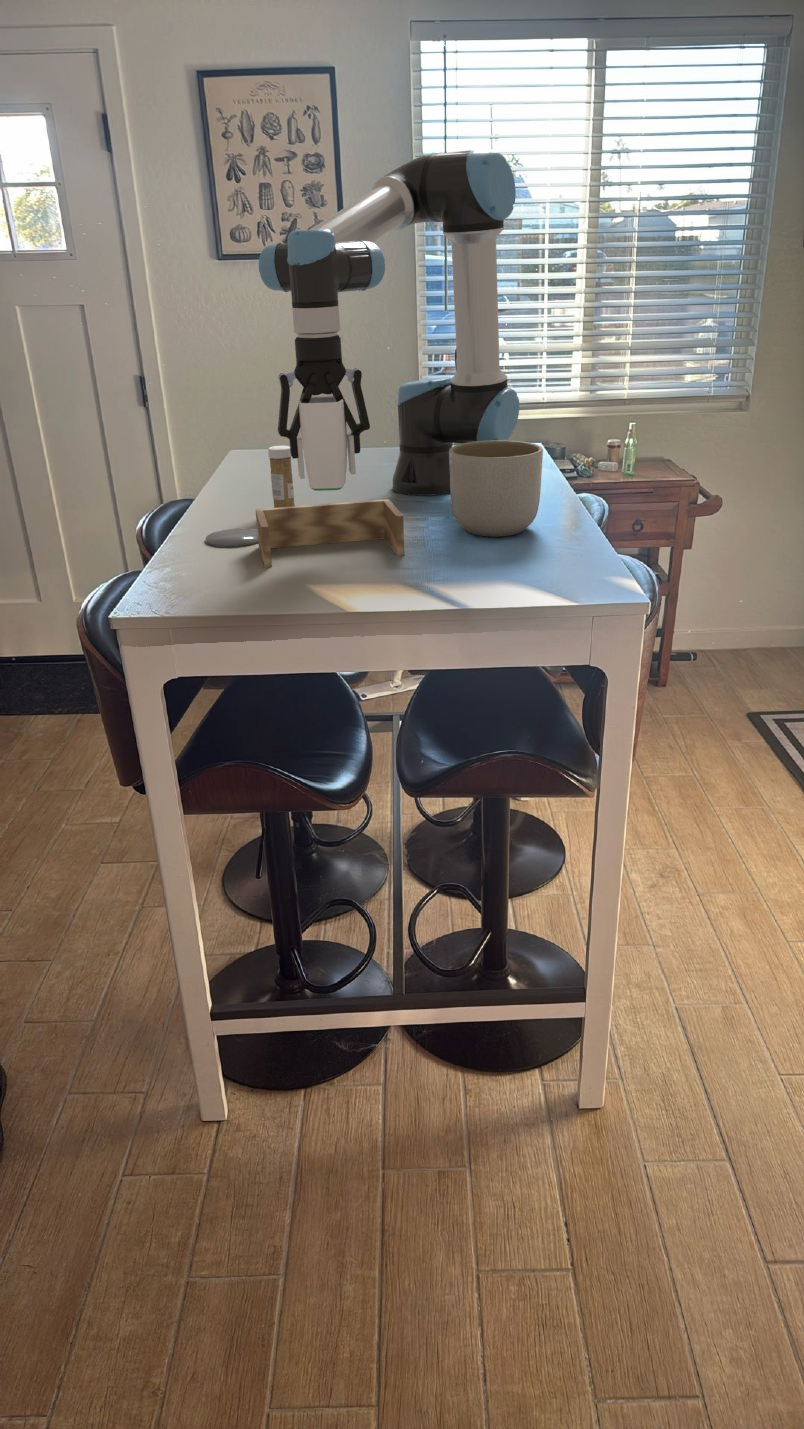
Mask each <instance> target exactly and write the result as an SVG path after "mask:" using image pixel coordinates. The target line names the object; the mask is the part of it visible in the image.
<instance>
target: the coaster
mask: <svg viewBox="0 0 804 1429" xmlns="http://www.w3.org/2000/svg"><path fill="white" fill-rule="evenodd" d="M205 542H206V544H207V545H209V546H210V547H211V546H212V547H216V548H239V547H240V548H242V547H248V546H253V545H256V544H259V543H258V532H257V529H255V528H230V529H224V530H223V529H222V530H218V531H214V532H212V533H209V534H207V535H206V537H205Z"/></svg>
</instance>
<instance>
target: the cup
mask: <svg viewBox="0 0 804 1429" xmlns="http://www.w3.org/2000/svg"><path fill="white" fill-rule="evenodd" d="M343 398H344V400H345V401H346V398H345V397H344V396H343ZM299 401H300V400H299ZM299 401H298V404H299V413H300V425H301V427H300V434H301V439H302V447H303V459H304V463H305V464H304V465H305V468H306V475H307V479H308V484H309V487H310V489H311V490H312V491H316V492H317V491H319V492H320V491H321V492H322V491H339V490H341V489H343V487H344V486H345V484H346V481H347V467H348V465H347V463H348V447H347V430H348V429H347V422H346V419H345V416H344V403H343V399H341V400H340V401H338V402H336V400H335V398H334V396H333V395H331V396H330V395H327V396H326V395H324V396H312V397H311V400H310V401H309V403H301V401H300V402H299Z"/></svg>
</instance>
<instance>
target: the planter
mask: <svg viewBox="0 0 804 1429" xmlns="http://www.w3.org/2000/svg"><path fill="white" fill-rule="evenodd" d="M543 449H544V448H543V447H542V446H541V445H539V444H536V443H533V442H527V441H519V440H507V441H505V440H493V441H477V442H469V443H463V444H460V443H458V444H456V445H454V446H453V445H452V447H451V448H450V449H449V470H450V493H449V494H450V504H451V511H452V514H453V517H454V519H455V521H456V522H457V524H458V525H459V526H460V527H461V528H462V529H464V530H465V531H466V532H468V533H469V534H472V535H476V536H480V537H488V538H490V537H491V538H498V537H499V538H501V537H508V536H514V535H517V534H520V533H522V532H523V531H524V530H526V529H527V528H528V527H529V526H530V525H531V524H533V522H534V521H535V520H536V517H537V515H538V511H539V508H540V498H541V489H542V472H543V471H542V470H543V460H544V459H543V458H544V457H543V456H544V450H543Z"/></svg>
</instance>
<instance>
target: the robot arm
mask: <svg viewBox="0 0 804 1429" xmlns="http://www.w3.org/2000/svg"><path fill="white" fill-rule="evenodd" d="M516 192H517V190H516V181H515V177H514V173H513V171H512V168H511V165H510V163H509V162H508V161H507V159H506V157H505V156H504V154H502V153H501V152H499V151H497V150H495V149H479V148H475V149H472V150H470V149H469V150H460V151H459V150H458V151H451V152H441V153H428V154H425V155H421V156H419V157H417V158H414V159H412V160H410V161H408V162H406V163H404V164H403V165H401V166H398V167H397V168H395V169H393V170H392V171H390V172H388V173H387V174H385V175H383V176H382V177H380V178H379V179H378V180H376V182H375V183H374V185H373V186H372V189H371V191H369V192H368V193H365V194H364V195H363V196H362V197H361V196H360V198H357V199H356V200H354V201H353V202H351V203H350V204H349V205H347V206H345V207H343V208H342V209H340V210H339V211H337V212H336V213H334V214H333V215H331V216H329V217H327V218H326V219H324V220H323V221H322V222H320V223H318V224H316V225H315V226H313V227H312V228H310V229H303V230H298V229H297V230H292V231H291V232H289V234H288V235H287V242H285V243H282V242H277V243H272V244H268V245H266V246H265V247H264V248H263V249H262V251H261V252H260V254H259V258H258V272H259V275H260V279H261V281H262V283H263V284H264V285H265V286H266V287H267V289H270V290H272V291H276V292H277V291H280V292H284V293H289V292H290V293H291V306H292V308H291V309H292V321H293V322H292V323H293V332H294V334H296V335H297V336H296V337H295V339H294V350H295V361H296V365H295V368H294V371H291V372H288V373H283V372H282V373H280V374H279V375H278V380H279V384H280V397H279V398H280V399H279V401H280V402H279V411H278V425H277V433H278V434H279V436H280V437H284V438H287V439H288V440H289V447H290V453H291V459H293V460H295V459H297V471H298V477H299V478H300V479H301V480H302V479H306V477H305V476H306V475H305V464H304V463H305V459H304V451H303V443H302V437H301V436H299V433H300V431H301V425H300V413H299V402H300V401H301V403H309V401H310V400H311V397H313V396H319V395H322V394H324V395H327V396H329V395H332V396H334V398H335V400H336V402H338V401H340V400H341V399H343V403H344V416H345V419H346V425H347V426H348V428H349V429H350V432H348V433H347V463H348V472H349V473H350V474H351V475H356V474H357V473H356V469H357V468H356V456H355V455H356V454H360V452H361V433H362V432H364V431H368V430H370V428H371V425H370V420H369V415H368V411H367V406H366V403H365V397H364V392H363V389H362V378H363V376H362V375H363V374H362V371H361V369H358V368H357V367H356V368H346V367H345V365H344V363H343V356H342V340H341V339H342V338H341V337H340V335H339V334H338V333H339V332H340V330H341V322H340V320H341V319H340V309H339V293H345V292H353V291H354V292H355V291H363V292H364V291H366V290H370V289H373V288H375V287H377V286H378V285H379V284H381V282H382V280H383V278H384V276H385V273H386V272H385V271H386V261H385V260H386V259H385V256H384V253H383V251H382V249H381V248H380V247H379V246H378V244H375V243H374V242H376V241H377V240H379V239H380V238H382V237H383V236H385V235H386V234H388V233H389V232H391V231H402V230H404V229H406V228H407V227H409V226H411V225H414V224H421V223H442V233H443V235H444V236H445V237H446V239H448V240H449V241H450V243H451V260H452V261H451V262H452V263H451V264H452V284H453V285H452V286H453V305H454V324H455V325H454V327H455V328H454V329H455V330H454V331H455V347H456V348H455V349H456V351H455V352H456V366H457V367H456V368H457V369H456V373H455V374H454V375H453V376H452V378H451V377H450V376H449V377H447V376H446V377H445V376H444V377H443V376H442V377H435V378H427V379H421V380H415V381H409V382H404V383H403V384H402V385H400V387H399V389H398V394H397V405H396V407H397V411H398V412H397V414H398V416H397V417H398V443H399V444H398V445H399V454H398V455H399V456H398V458H397V463H396V466H395V468H394V473H393V477H392V490H393V491H394V492H396V493H399V494H404V495H411V496H437V495H443V494H445V495H446V494H450V470H449V449H450V448H451V447H453V444H463V443H469V442H477V441H493V440H505V441H509V439H510V437H511V436H512V434H513V433H514V430H515V429H516V427H517V423H518V420H519V414H520V399H519V396H518V393H517V391H516V390H514V389H512V388H511V387H508V376H507V374H506V373H504V372H503V371H502V370H501V368H500V343H499V342H500V335H499V302H498V300H499V298H498V297H499V296H498V293H499V292H498V266H497V265H498V264H497V258H498V257H497V239H498V236H500V234H501V233H502V232H503V230H504V229H505V228H504V226H505V223H504V221H505V220H506V219H507V218H508V217H510V216H511V214H512V212H513V210H514V204H516V197H517V196H516V194H517V193H516ZM345 376H347V381H348V382H349V383H351V388H352V393H353V398H354V402H355V406H356V411H357V413H358V414H357V415H358V419H359V423H357V422H356V419H355V418H354V416H353V414H352V411H351V410H350V408H349V406H348V404H347V402H346V399H345V400H344V398H345V397H344V396H343V394H342V391H341V389H340V387H339V386H340V385H341V383H342V380H343V379H344V378H345ZM294 380H297V381H298V383H299V384H300V385H301V387H302V391H301V394H300V399H299V401H298V404H297V407H296V411H295V413H294V416H293V419H292V421H291V424H290V427H289V429H288V420H289V419H288V417H289V407H290V395H291V390H290V388H291V387H292V386H293V385H294ZM343 397H344V398H343Z"/></svg>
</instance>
